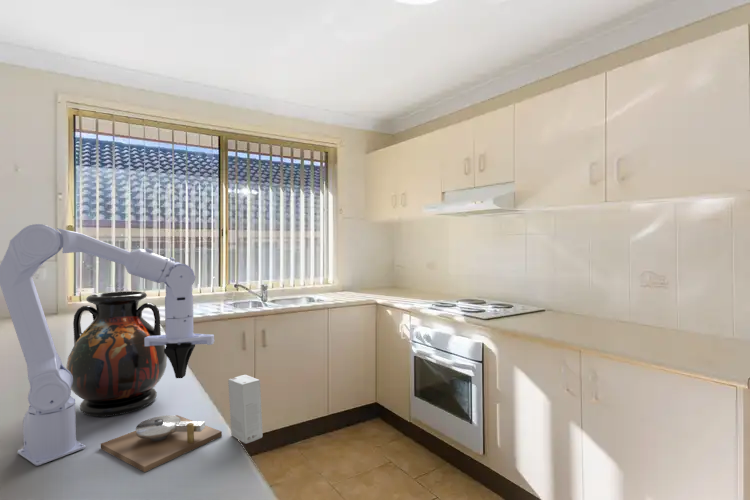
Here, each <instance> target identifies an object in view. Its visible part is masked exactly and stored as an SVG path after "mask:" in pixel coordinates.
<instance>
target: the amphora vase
mask: <svg viewBox="0 0 750 500" xmlns="http://www.w3.org/2000/svg"><path fill="white" fill-rule="evenodd" d="M147 296H148V295H147V292H144V291H138V290H137V291H133V290H132V291H131V290H130V291H129V290H126V291H111V292H103V293H102V292H101V293H94V294H91V295H88V296H87V297H86V298H85V300H86V302H88V303H90V304H93V305H95V308H94V306H91V305H82V306H80V307H79V308H78V309H77V310H76V312H74V315H73V322H72V325H73V327H72V329H73V345H74V346H73V347H72V349H71V350H70V353H69V355H68V356H67V358H66V359H67V360H66V365H65V368H66V369H67V370H69V371H70V372H71V374H72V376H73V383H72V386H71V392H73V394H75V395H76V396H77V397H79V398H80V399H82V401H81V402H80V404H79V410H80V412H81V413H83V414H84V415H87V416H91V417H101V418H102V417H113V416H119V415H120V416H121V415H124V414H128V413H131V412H134V411H138V410H140V409H142V408H145V407H146V406H148V405H150V404H151V403H152V402H154V401H155V399H157V393H158V392H157V391H156V389H155V388H154V387H156V386H157V384H158V383H159V382H160V381H161V380H162V377H163V376H164V373H165V372H166V367H167V364H168V363H167V359H168V357H167V355H166V354H165V353H164V349H165V348H166V345H152V346H145V343H144V338H145V337H148V336H157V335H162V333H161V331H162V330H161V315H160V314H161V313H160V309H158V306H157V305H156V304H154V303H152V302H145V303H142V304H141V305H140V306H139V303H140V302H141V300H144V299H145V298H147ZM145 309H150V310H151V311H152V312H153V318H154V322H153V323H154V324H153V325H154V326H152V325H151V324H150V323H149V322H148V321H146V319H144V318H143V317H142V315H143V311H144V310H145ZM86 311H87V312H89V313H90V314H91V316H92V320H93V321H92V322H91V323H90V324H89V326H88V327H86V328H85V330H84V331H83V332H82V325H81V320H82V315H83V313H84V312H86Z"/></svg>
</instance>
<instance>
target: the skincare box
mask: <svg viewBox="0 0 750 500" xmlns="http://www.w3.org/2000/svg"><path fill="white" fill-rule="evenodd" d="M227 382H228V398H229V399H228V400H229V402H228V403H229V417H230V419H229V420H230V433H231V434H230V435H231V437H234V438H235V439H237V440H239V441H240V442H242V443H243V444H249V443H252V442H255V441H257V440H260V439H262V438H263V434H264V433H263V418H262V417H263V416H262V413H263V412H262V396H261V395H262V394H261V380H260V379H258V378H255V377H253V376H250V375H247V374H243V375H242V374H241V375H237V376H235V377H231V378H229V379H228V381H227Z"/></svg>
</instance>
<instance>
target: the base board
mask: <svg viewBox="0 0 750 500" xmlns="http://www.w3.org/2000/svg"><path fill="white" fill-rule="evenodd" d="M175 416H177V417H179V418H180V419H181V421H193V420H192V419H188V418H187V417H184V416H181V415H178V414H175ZM222 432H223V431H221V430H219V429H217V428H214V427H211V426H208V425H205V428H204V429H203V430H202V431H201V432H194V423H189V424H187V432H174V433H172V434H170V435H167V436H163V437H159V438H153V439H143V438H139V437H137V436H136V430H134V431H130V432H128V433H126V434H123V435H120V436H117V437H115V438H112V439H110V440H107V441H105V442H102V443H100V450H102V451H104V452H106V453H108V454H110V455H111V456H114V457H115V458H117V459H119V460H120V461H123V462H125V463H127V464H129V465H131V466H132V467H134V468H136V469H138V470H140V471H141V472H144V473H146V472H148V471H150V470H153V469H155V468H156V467H158V466H161V465H163V464H165V463H167V462H169V461H171V460H174V459H176V458H179V457H180V456H182V455H184V454H185V455H186V454H187V453H189V452H190V451H194V450H195V449H197V448H200V447H201V446H204V445H206V444H208V443H210V442H212V441H215V440H217V439H218V438H220V437H222V435H223V433H222Z"/></svg>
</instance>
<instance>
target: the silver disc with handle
mask: <svg viewBox="0 0 750 500" xmlns="http://www.w3.org/2000/svg"><path fill="white" fill-rule="evenodd" d="M189 423H194V432H201V431H202V430H203V429H204V428H205V426H206V422H205V420H204V421H200V420H199V421H198V420H197V421H196V420H195V421H194V420H192V421H181V419H180V418H179V417H177V416H176V415H167V414H166V415H159V416H154V417H151V418H148V419H146V420H143V421H141V422H140V423H138V424H137V425H136V428H135V431H136V436H137V437H139V438H143V439H153V438H159V437H163V436H167V435H170V434H172V433H174V432H187V424H189Z"/></svg>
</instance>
